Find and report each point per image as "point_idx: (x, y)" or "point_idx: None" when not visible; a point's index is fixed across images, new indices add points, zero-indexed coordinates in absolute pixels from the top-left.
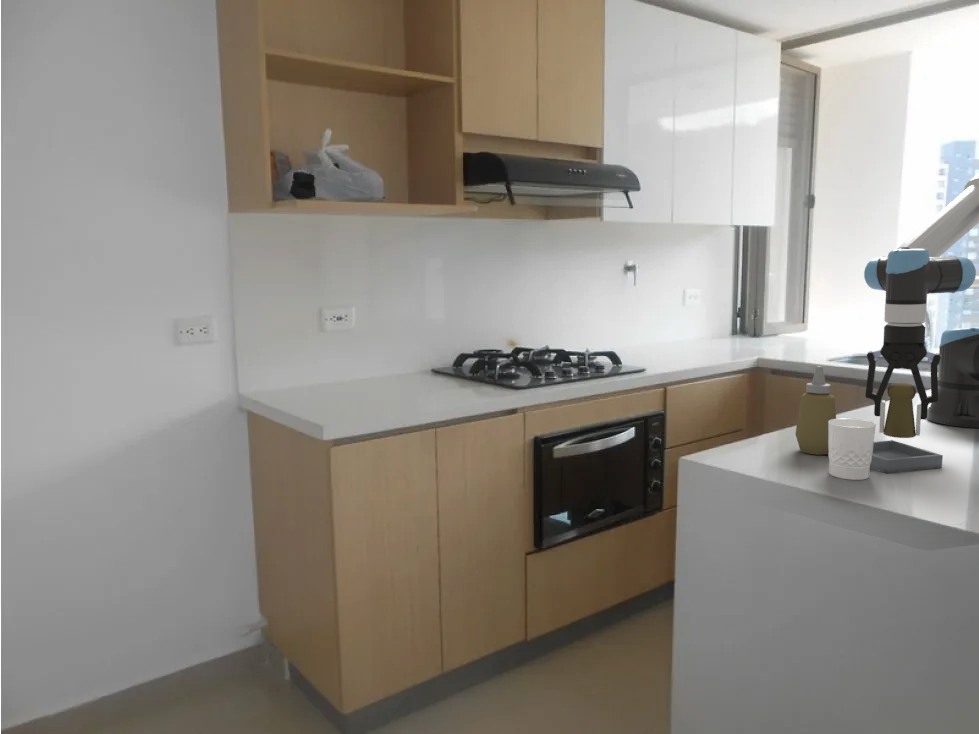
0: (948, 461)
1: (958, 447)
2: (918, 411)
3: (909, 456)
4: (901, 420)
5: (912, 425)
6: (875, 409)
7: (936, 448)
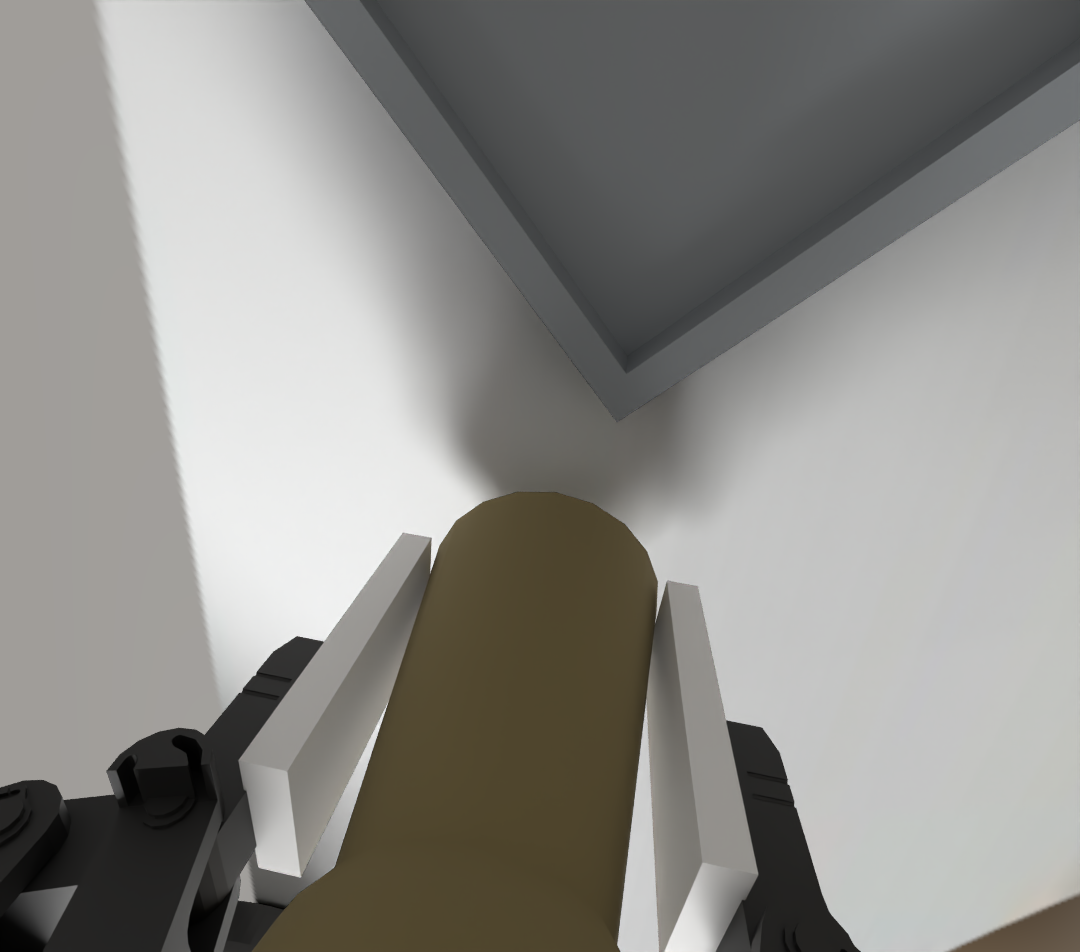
0: (260, 226)
1: (254, 610)
2: (315, 692)
3: (511, 123)
4: (516, 598)
5: (429, 594)
6: (781, 798)
7: (350, 564)
